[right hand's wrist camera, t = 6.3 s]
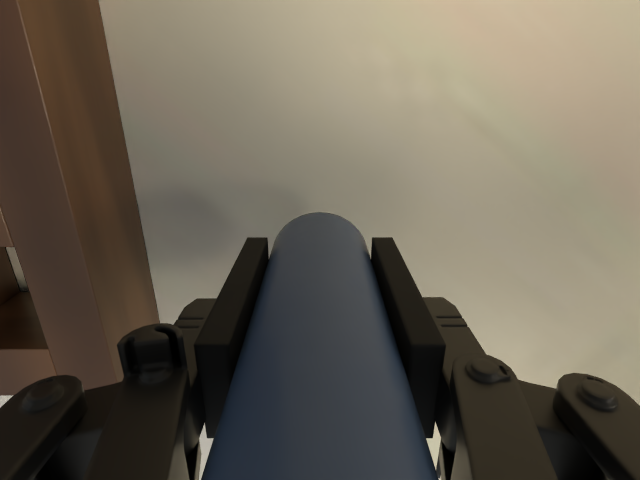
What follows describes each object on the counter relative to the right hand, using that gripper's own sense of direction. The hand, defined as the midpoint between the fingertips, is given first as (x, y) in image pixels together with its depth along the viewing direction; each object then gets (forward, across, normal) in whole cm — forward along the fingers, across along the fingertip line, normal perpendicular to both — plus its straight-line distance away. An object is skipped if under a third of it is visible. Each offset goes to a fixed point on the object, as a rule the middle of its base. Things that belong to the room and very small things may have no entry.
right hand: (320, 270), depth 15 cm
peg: (+1, 0, 0) cm, 1 cm away
